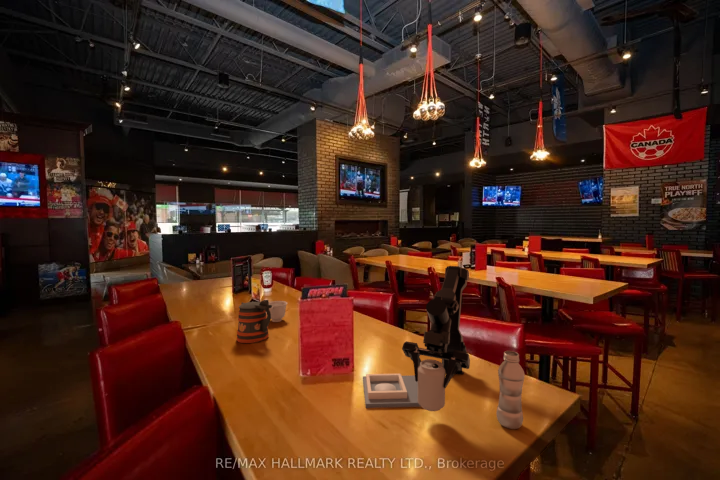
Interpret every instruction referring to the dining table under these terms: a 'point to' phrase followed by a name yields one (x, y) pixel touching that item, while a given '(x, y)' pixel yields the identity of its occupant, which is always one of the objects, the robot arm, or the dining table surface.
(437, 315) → the robot arm
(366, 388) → the base board
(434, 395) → the can
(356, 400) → the dining table surface
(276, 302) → the teacup
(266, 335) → the beer stein
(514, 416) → the plastic bottle
